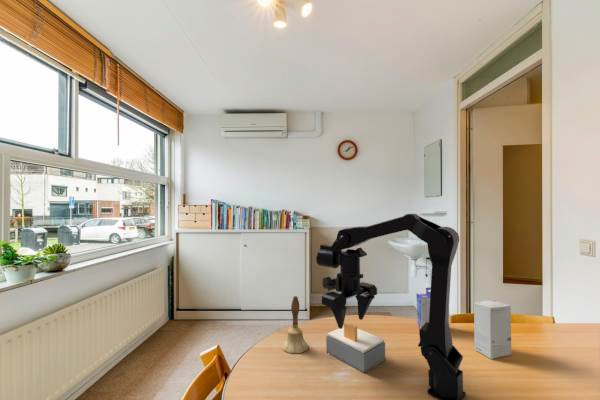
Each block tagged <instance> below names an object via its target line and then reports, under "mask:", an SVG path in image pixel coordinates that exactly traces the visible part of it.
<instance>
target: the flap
mask: <svg viewBox="0 0 600 400" xmlns="http://www.w3.org/2000/svg"><path fill="white" fill-rule="evenodd" d="M326 336H330V337H332V338H334V339H336V340H338V341H340V342H342V343H344V344H346V345H348V346H350V347H352V348H354V349H356V350H358V351H360V352H362V353H365V352H366V351H368V350H370V349H372V348H374V347H375V346H377V345H379V344H381V343H382V342H385V339H384V338H382V337H379V336H376V335H374V334H372V333H370V332H367V331H365V330H362V329H359V328H358V325H354V324H352V323H350V322H347V321H346V322H344V324H343V328H342V329H340V328H339V327H338V328H336V329H335V330H331V331H330V332H327V335H326Z"/></svg>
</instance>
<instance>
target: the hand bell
mask: <svg viewBox="0 0 600 400" xmlns="http://www.w3.org/2000/svg"><path fill="white" fill-rule="evenodd" d="M290 309H291V314H292V325H291V327H290V328H288V332H287V336H286V340H285V341H284V342H283V344H282V347H281V348H282V350H283V351H284V352H286V353H288V354H295V355H296V354H301V353H305V352H307V351H308V349H309V344H308V343H307V341H305V339H304V335H303V329H302V328H300V327H298V326H299V323H298V322H299V321H298V318H299V314H300V313H299V312H300V301H299V297H298V296H297V295H294V296H293V297H292V301H291V306H290Z"/></svg>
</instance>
